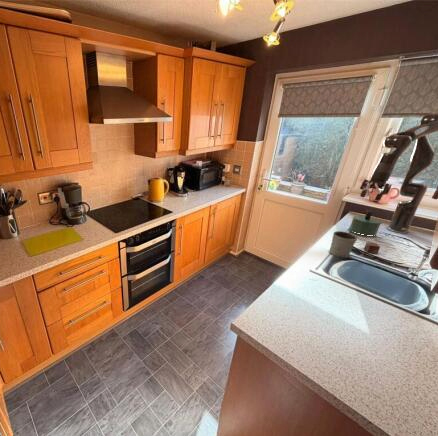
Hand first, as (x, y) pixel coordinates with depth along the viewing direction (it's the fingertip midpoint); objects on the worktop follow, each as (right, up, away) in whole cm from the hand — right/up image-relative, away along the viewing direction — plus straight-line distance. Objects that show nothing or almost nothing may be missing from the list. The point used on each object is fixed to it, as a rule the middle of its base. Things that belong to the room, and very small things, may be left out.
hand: (369, 198), depth 137 cm
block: (-3, -31, -4) cm, 31 cm away
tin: (+14, -22, +20) cm, 32 cm away
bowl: (+14, -13, +16) cm, 25 cm away
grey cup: (-24, -32, -7) cm, 41 cm away
